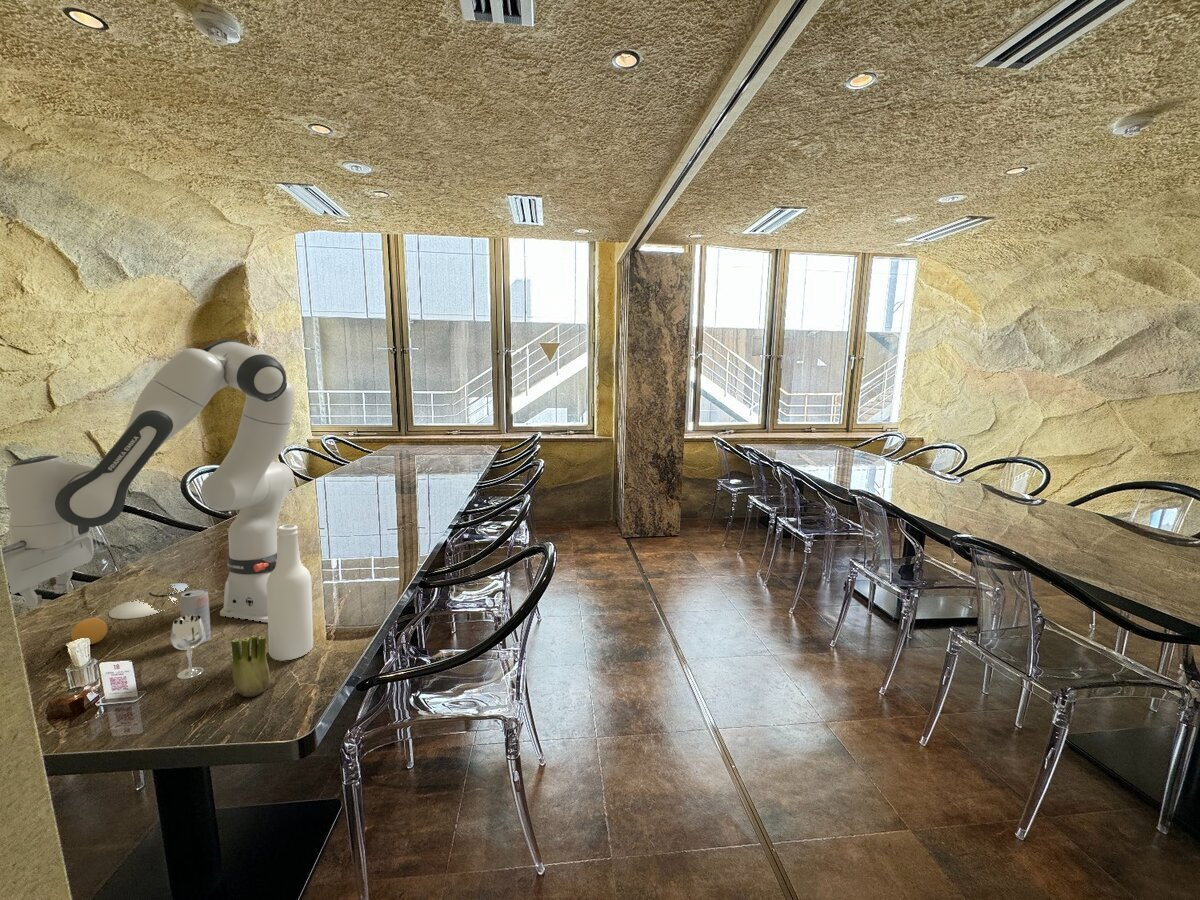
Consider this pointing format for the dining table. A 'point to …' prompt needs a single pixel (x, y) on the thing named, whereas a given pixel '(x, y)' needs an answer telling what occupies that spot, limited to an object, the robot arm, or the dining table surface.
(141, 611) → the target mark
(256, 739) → the dining table surface
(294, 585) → the white bottle
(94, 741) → the dining table surface
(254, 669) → the fennel bulb
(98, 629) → the ball
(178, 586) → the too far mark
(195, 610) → the energy drink
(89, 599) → the dining table surface
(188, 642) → the wineglass
